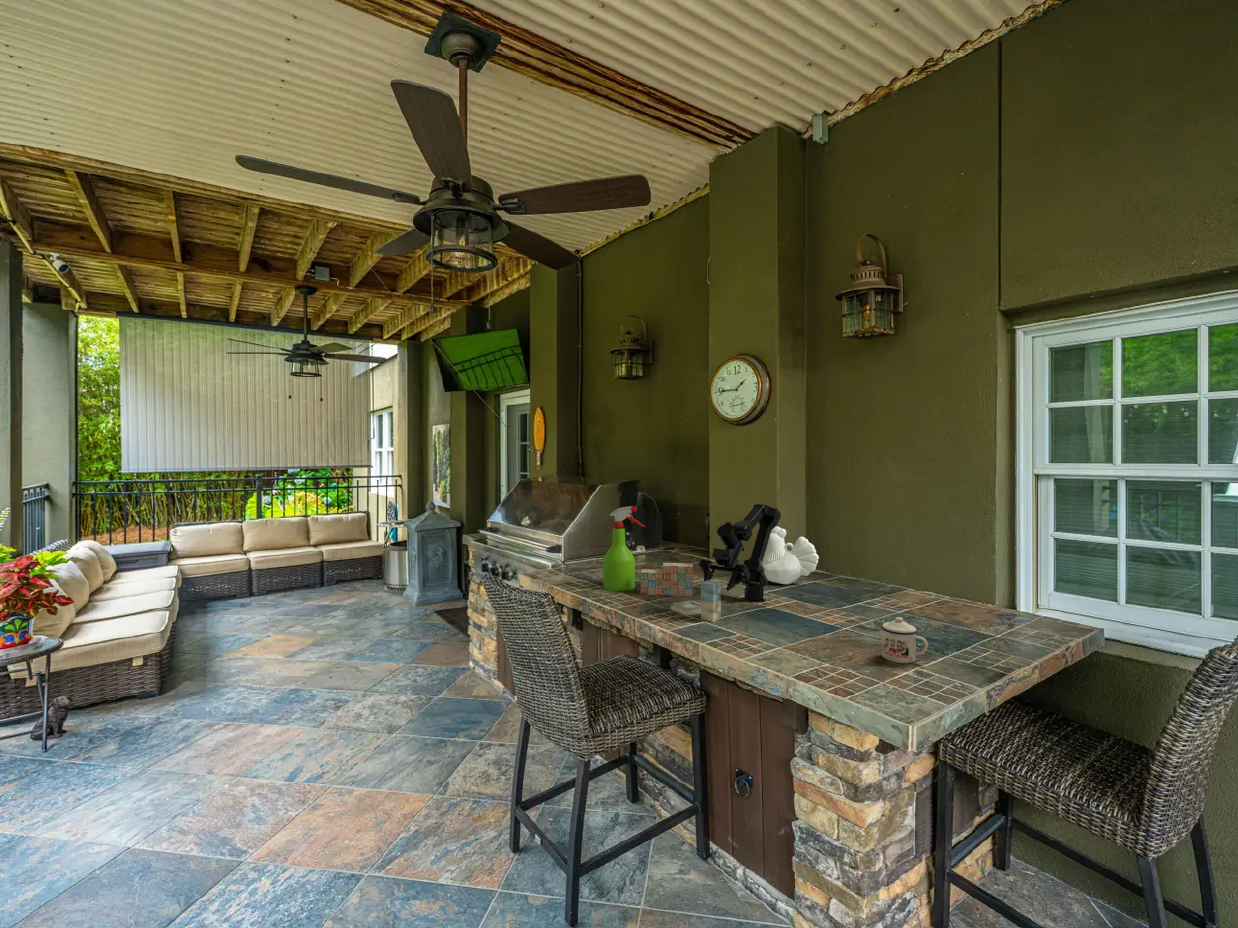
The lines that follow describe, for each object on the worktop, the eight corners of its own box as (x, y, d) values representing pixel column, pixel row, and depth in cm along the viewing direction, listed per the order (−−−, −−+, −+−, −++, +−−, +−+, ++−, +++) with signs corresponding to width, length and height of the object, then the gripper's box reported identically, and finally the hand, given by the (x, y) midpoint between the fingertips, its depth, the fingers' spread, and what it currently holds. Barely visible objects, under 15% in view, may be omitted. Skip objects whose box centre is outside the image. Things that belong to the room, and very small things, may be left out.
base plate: (692, 605, 229) (692, 599, 229) (708, 611, 220) (708, 605, 220) (670, 608, 224) (670, 602, 224) (686, 615, 215) (686, 609, 215)
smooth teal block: (708, 616, 214) (708, 579, 214) (720, 618, 211) (720, 581, 211) (700, 619, 211) (701, 582, 210) (713, 621, 207) (713, 584, 207)
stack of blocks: (640, 594, 245) (640, 564, 245) (641, 591, 251) (641, 561, 251) (692, 596, 242) (692, 566, 242) (693, 592, 249) (693, 563, 248)
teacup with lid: (877, 659, 171) (878, 618, 171) (885, 650, 179) (886, 611, 178) (923, 668, 164) (924, 626, 164) (930, 659, 171) (931, 618, 171)
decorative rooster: (752, 582, 266) (753, 526, 266) (772, 576, 277) (772, 523, 277) (804, 592, 249) (805, 532, 248) (822, 586, 260) (823, 528, 259)
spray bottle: (641, 592, 249) (641, 508, 247) (599, 590, 253) (599, 507, 252) (647, 584, 262) (647, 504, 261) (607, 582, 266) (607, 503, 265)
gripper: (701, 537, 223) (684, 571, 214) (747, 542, 211) (731, 578, 203) (712, 555, 229) (696, 589, 221) (757, 561, 217) (742, 597, 209)
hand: (715, 588), depth 213 cm, fingers open, 9 cm apart
